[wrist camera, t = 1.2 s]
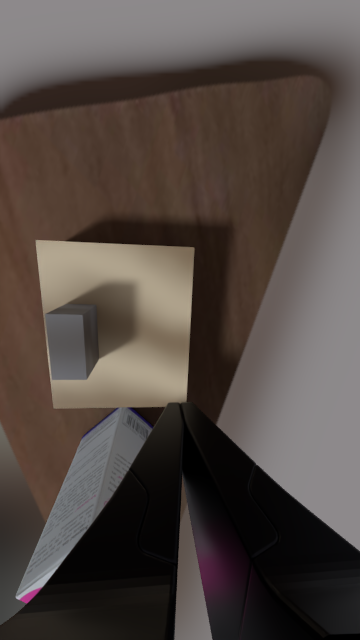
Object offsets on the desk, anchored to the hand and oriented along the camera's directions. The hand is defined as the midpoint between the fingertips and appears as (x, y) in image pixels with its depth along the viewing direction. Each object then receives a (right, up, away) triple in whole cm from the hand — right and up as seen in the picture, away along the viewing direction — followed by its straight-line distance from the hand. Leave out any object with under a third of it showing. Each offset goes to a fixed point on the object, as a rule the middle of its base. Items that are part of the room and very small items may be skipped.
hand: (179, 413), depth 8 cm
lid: (-4, +3, +9) cm, 11 cm away
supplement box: (-6, -8, +15) cm, 18 cm away
